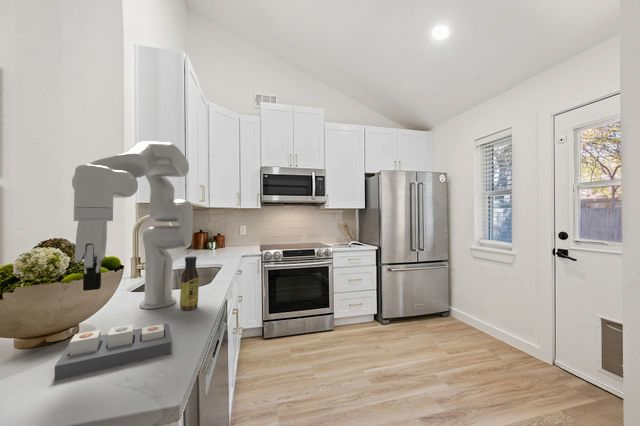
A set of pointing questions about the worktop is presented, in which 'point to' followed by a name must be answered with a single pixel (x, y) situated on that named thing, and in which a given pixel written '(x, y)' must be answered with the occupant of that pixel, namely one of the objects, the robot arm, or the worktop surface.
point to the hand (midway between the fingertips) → (92, 289)
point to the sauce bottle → (189, 285)
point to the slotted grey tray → (112, 354)
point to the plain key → (120, 336)
